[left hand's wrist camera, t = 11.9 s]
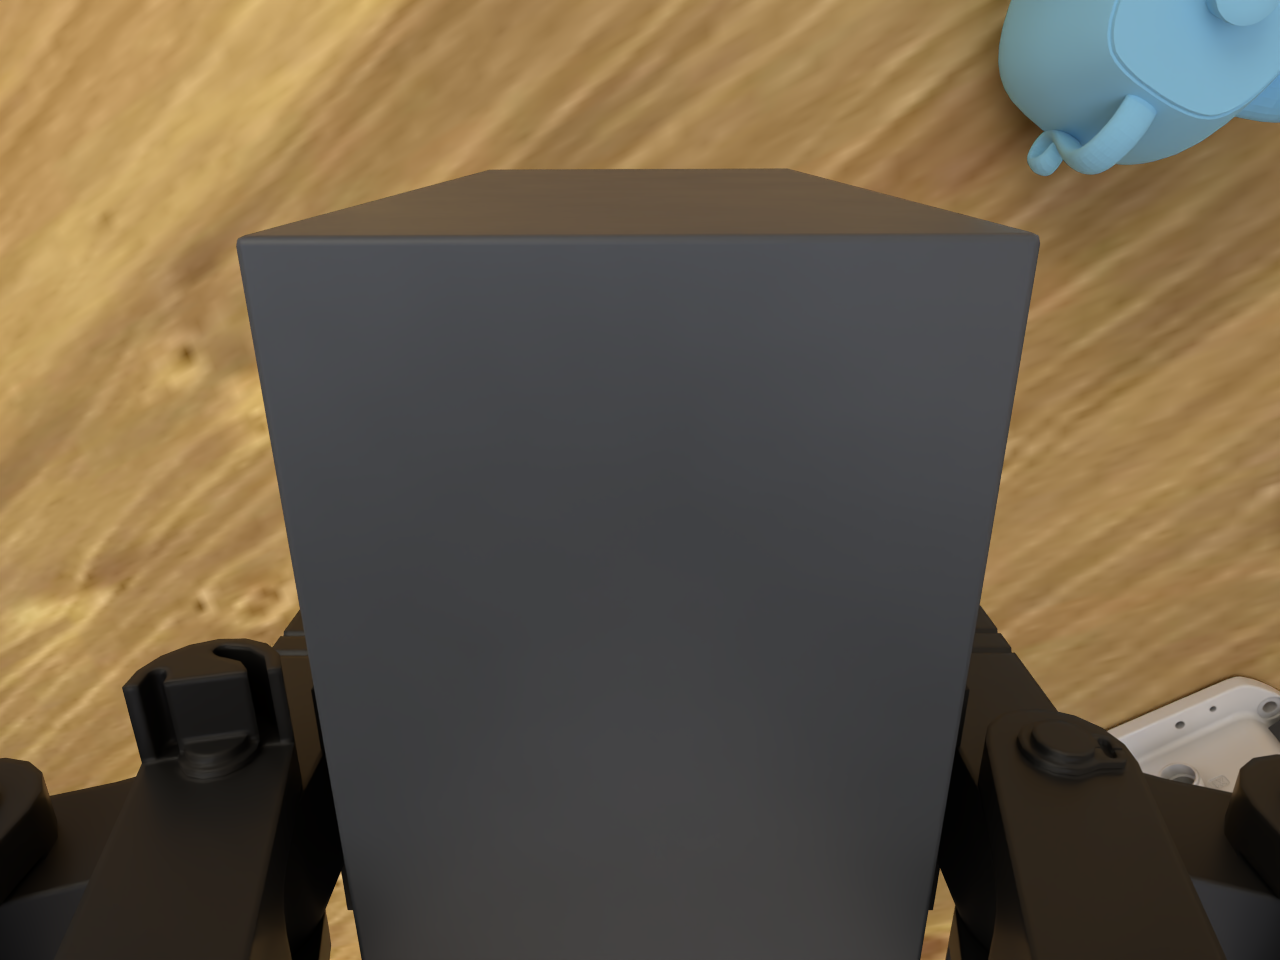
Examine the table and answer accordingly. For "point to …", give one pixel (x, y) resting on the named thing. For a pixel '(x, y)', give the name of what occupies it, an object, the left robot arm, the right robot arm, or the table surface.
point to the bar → (639, 550)
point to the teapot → (1137, 75)
